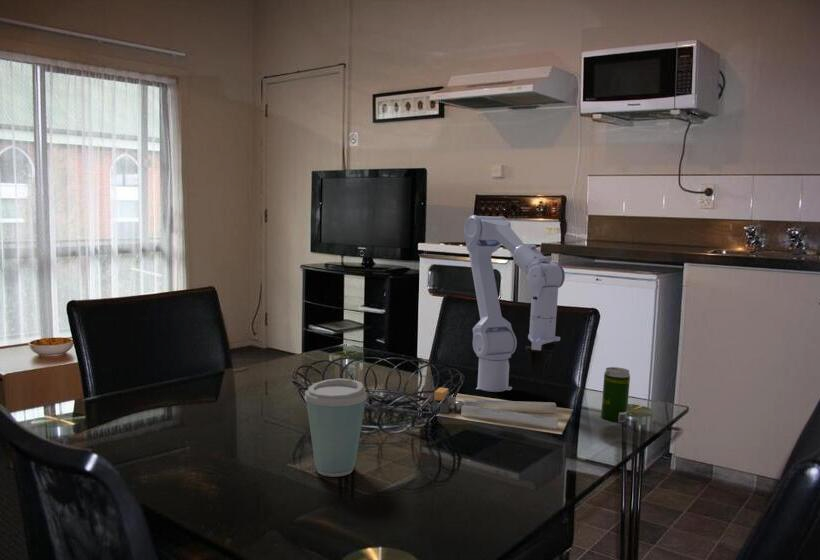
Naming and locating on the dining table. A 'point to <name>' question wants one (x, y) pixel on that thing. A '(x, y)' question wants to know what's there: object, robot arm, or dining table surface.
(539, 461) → the dining table surface
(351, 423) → the disposable coffee cup
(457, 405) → the bar
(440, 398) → the block
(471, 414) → the tongs frame
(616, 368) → the beer can
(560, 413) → the board
